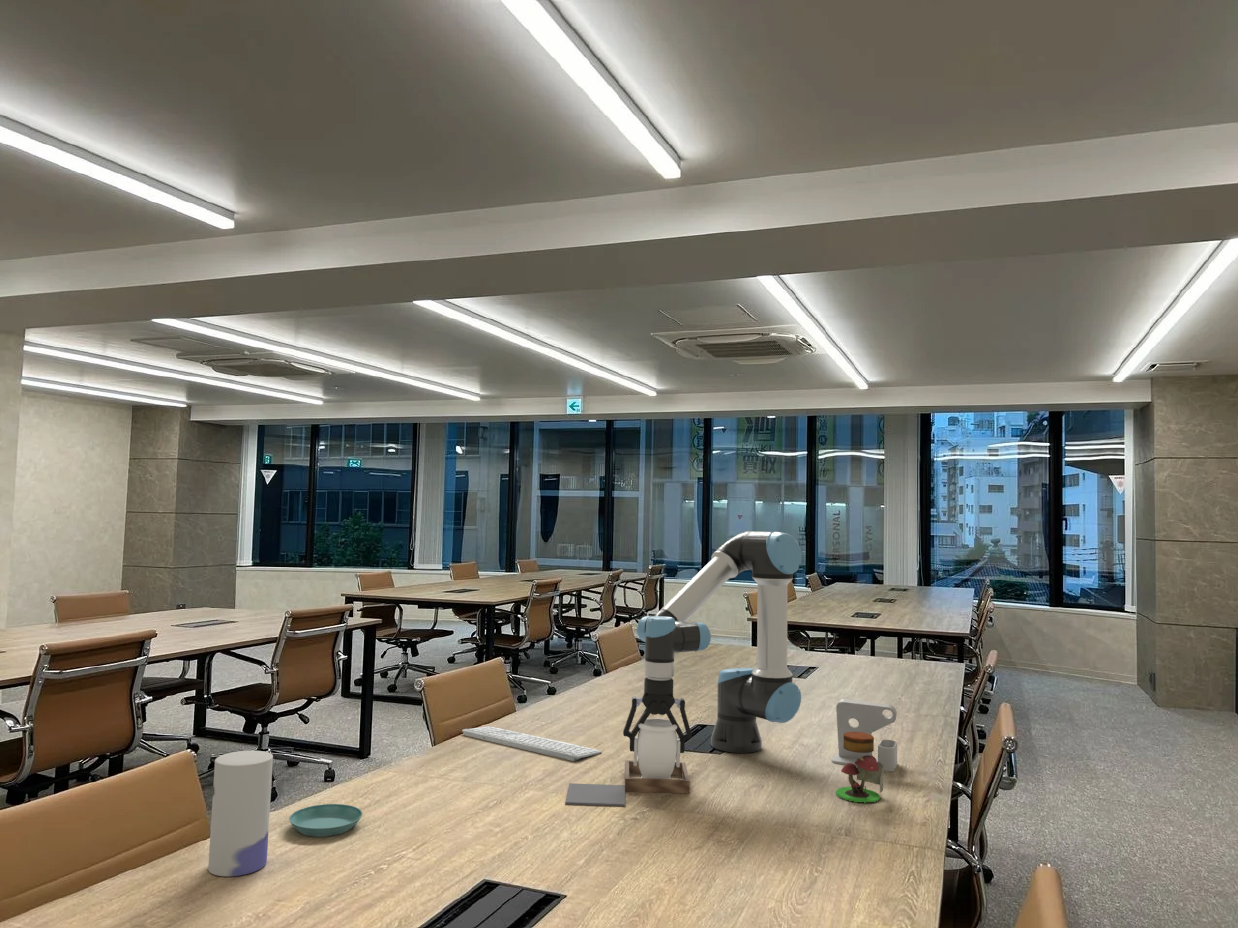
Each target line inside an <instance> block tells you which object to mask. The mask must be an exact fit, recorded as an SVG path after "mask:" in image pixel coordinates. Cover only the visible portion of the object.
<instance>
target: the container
mask: <svg viewBox="0 0 1238 928" xmlns="http://www.w3.org/2000/svg"><path fill="white" fill-rule="evenodd" d="M273 760H274V755H273V754H272V753H271V752H267V751H262V750H241V751H240V750H239V751H234V752H230V753H225V754H222V755H219V756H218V757H216V758H215V760H214V769H213V771H214V773H213V785H212V787H213V788H212V791H213V792H212V804H211V820H210V836H209V849H208V851H209V852H208V866H207V869H208V872H209V873H211V874H212V875H214V876H219V877H239V876H245V875H249V874H251V873H254V872H257V871H259V870H261V869H262V868H264V867H265V866H266V865H267V863H268V862H267V861H268V850H269V849H268V847H269V845H268V843H269V830H270V829H269V827H270V814H271V813H270V812H271V811H270V810H271V799H272V798H271V796H272V795H271V794H272V778H273V762H274V761H273Z"/></svg>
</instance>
